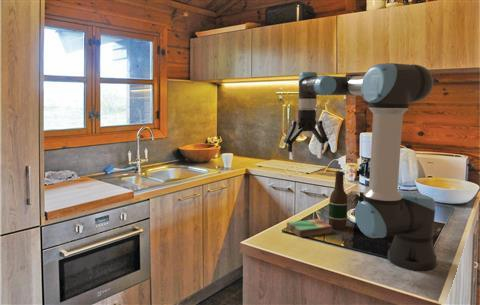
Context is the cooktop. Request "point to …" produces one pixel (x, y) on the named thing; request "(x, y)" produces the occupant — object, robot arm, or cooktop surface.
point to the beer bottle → (338, 204)
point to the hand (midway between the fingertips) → (305, 158)
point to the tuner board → (309, 227)
